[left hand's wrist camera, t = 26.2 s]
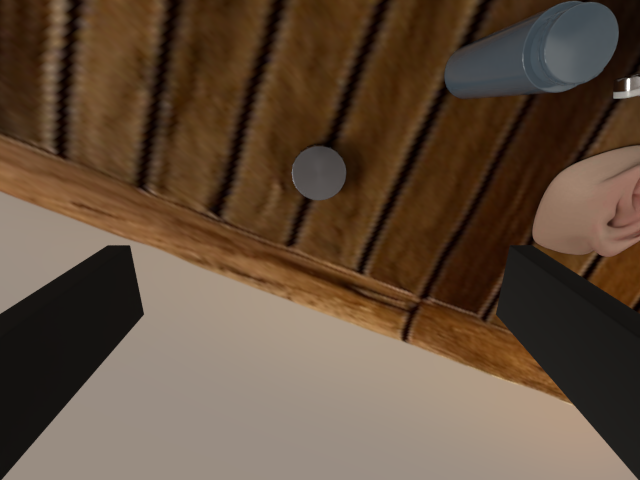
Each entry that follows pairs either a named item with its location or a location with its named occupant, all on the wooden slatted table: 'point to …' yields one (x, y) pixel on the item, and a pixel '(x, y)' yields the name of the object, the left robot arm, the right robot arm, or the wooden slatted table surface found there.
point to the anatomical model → (592, 205)
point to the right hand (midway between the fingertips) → (620, 23)
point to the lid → (319, 172)
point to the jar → (536, 53)
